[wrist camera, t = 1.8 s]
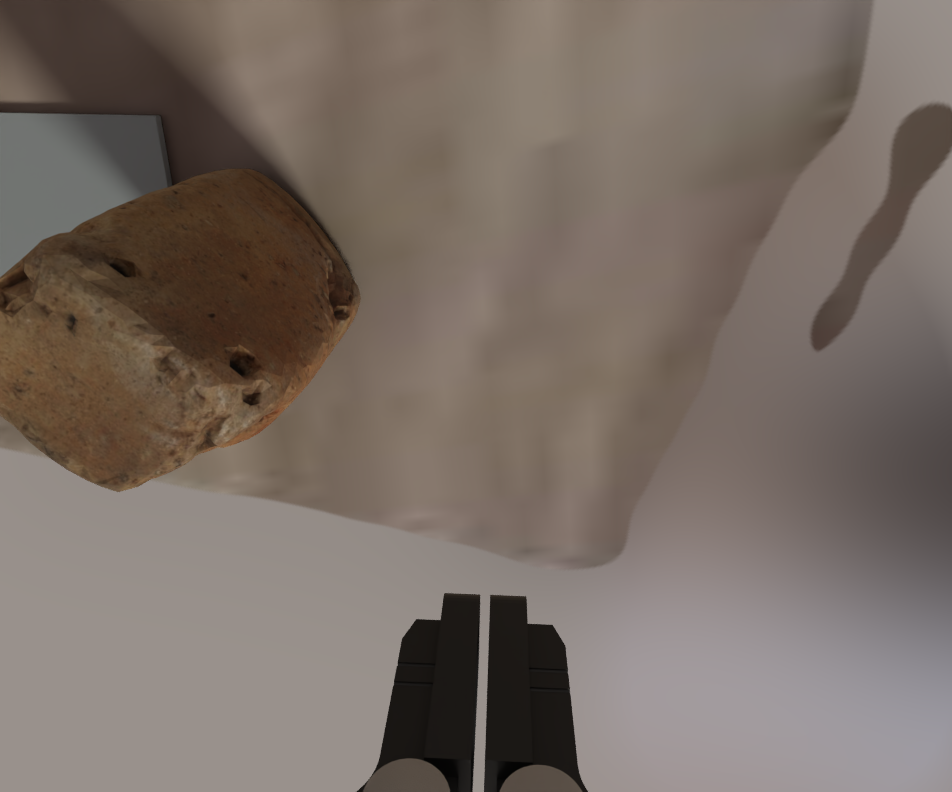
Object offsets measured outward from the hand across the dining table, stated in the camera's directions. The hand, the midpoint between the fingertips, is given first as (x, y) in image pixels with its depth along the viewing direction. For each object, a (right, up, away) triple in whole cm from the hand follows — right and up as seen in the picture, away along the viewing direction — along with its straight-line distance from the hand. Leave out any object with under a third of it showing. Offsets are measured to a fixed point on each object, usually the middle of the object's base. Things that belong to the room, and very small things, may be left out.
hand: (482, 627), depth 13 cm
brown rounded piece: (-12, +13, +27) cm, 32 cm away
